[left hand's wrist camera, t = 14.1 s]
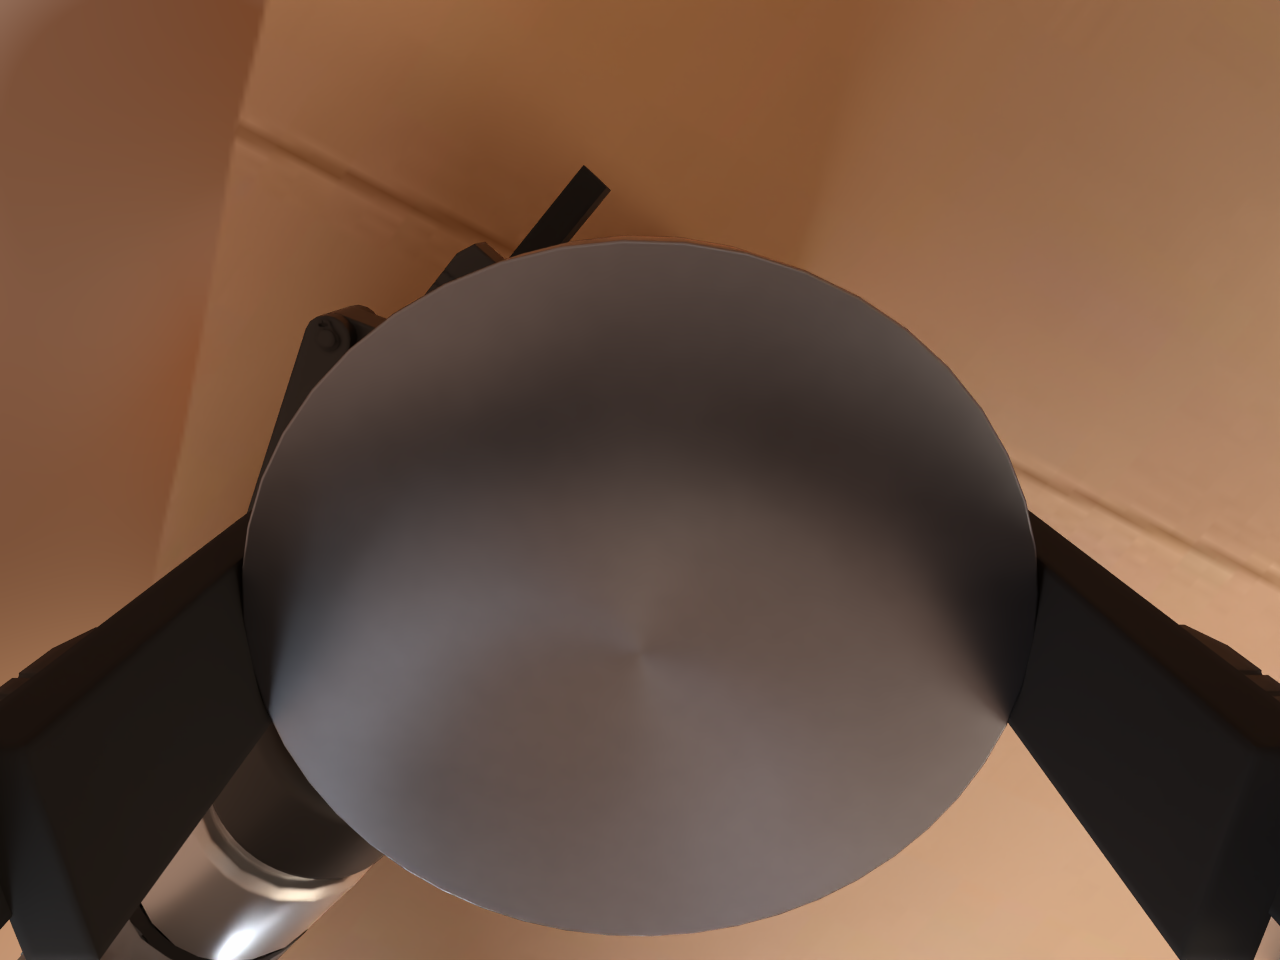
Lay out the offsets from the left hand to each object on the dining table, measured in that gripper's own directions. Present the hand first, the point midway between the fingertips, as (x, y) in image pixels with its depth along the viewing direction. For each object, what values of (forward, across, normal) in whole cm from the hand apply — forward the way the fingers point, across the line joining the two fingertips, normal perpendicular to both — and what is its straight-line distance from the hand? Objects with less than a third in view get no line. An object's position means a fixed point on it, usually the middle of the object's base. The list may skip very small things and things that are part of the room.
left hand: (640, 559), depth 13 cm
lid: (-3, 0, 0) cm, 3 cm away
